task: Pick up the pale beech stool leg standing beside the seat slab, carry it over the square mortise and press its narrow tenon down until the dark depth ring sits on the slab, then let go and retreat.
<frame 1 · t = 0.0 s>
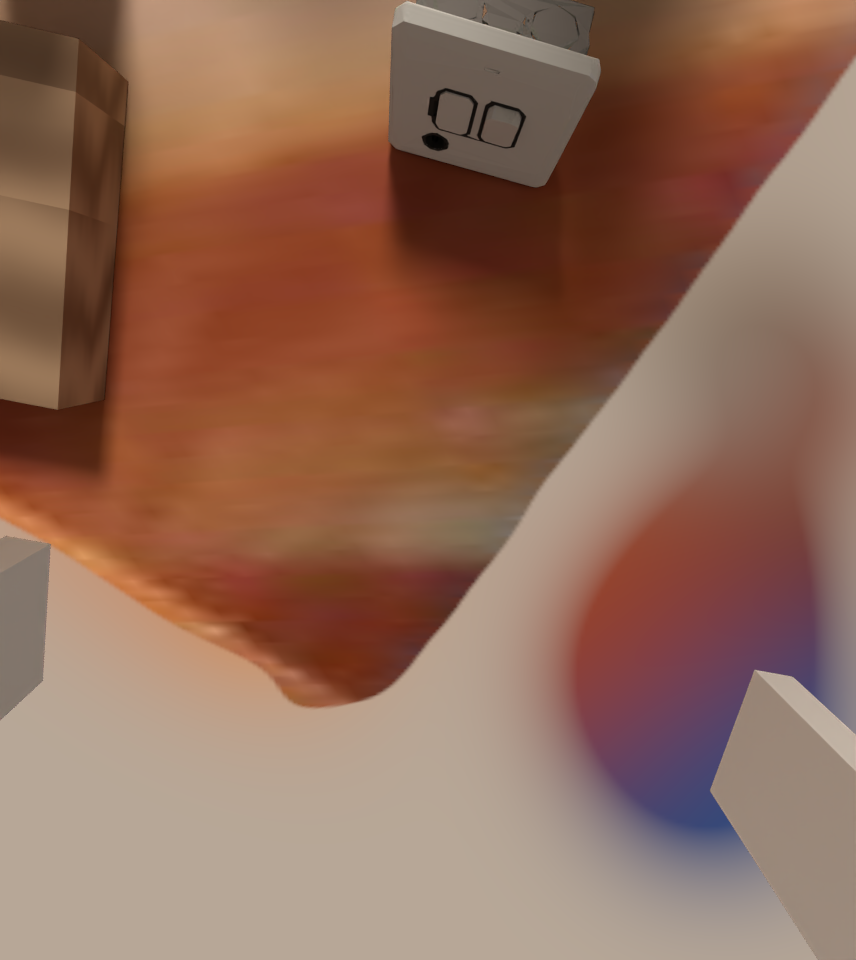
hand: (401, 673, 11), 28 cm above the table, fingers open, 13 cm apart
electrical switch: (473, 120, 34), on the table
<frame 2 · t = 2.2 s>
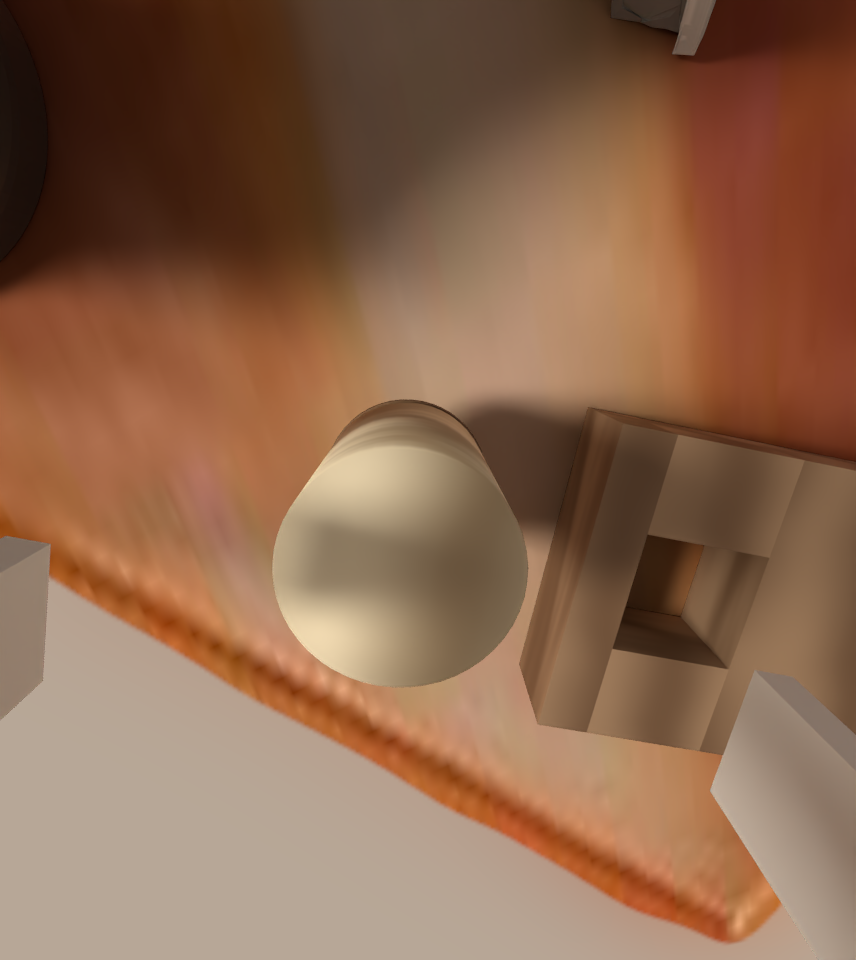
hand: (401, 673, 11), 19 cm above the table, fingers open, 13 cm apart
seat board: (720, 574, 31), on the table
leg peg: (407, 455, 29), on the table
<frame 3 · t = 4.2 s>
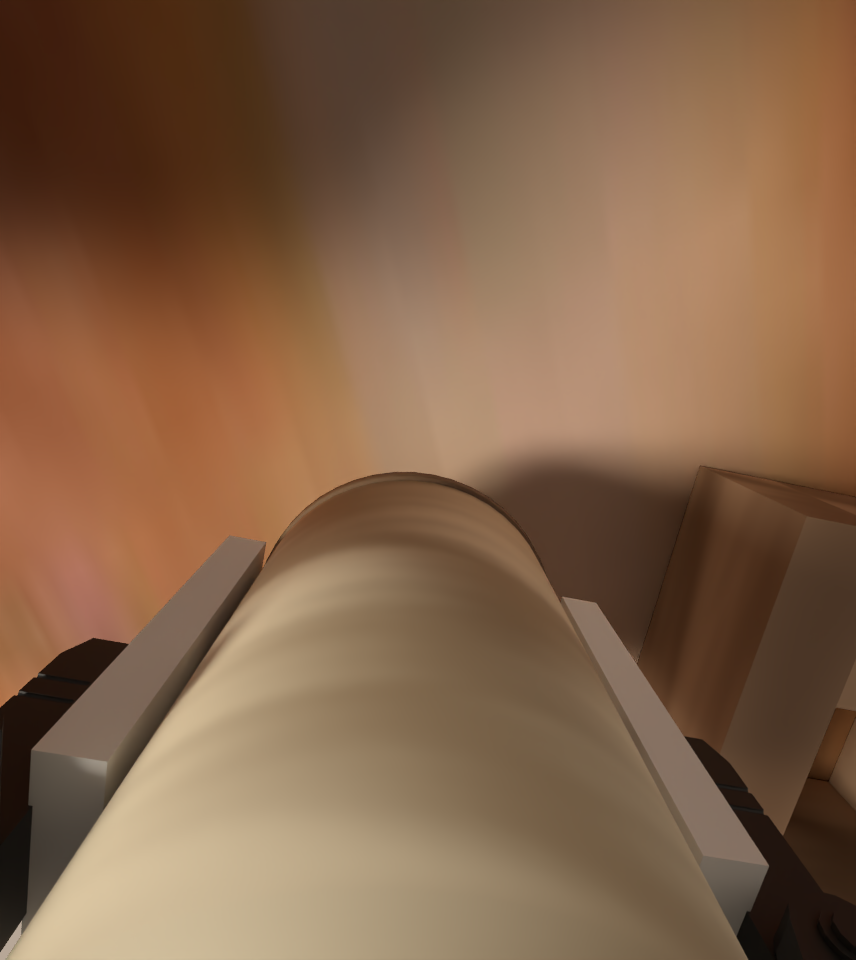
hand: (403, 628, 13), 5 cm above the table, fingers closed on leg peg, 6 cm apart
leg peg: (408, 541, 18), on the table, touching gripper
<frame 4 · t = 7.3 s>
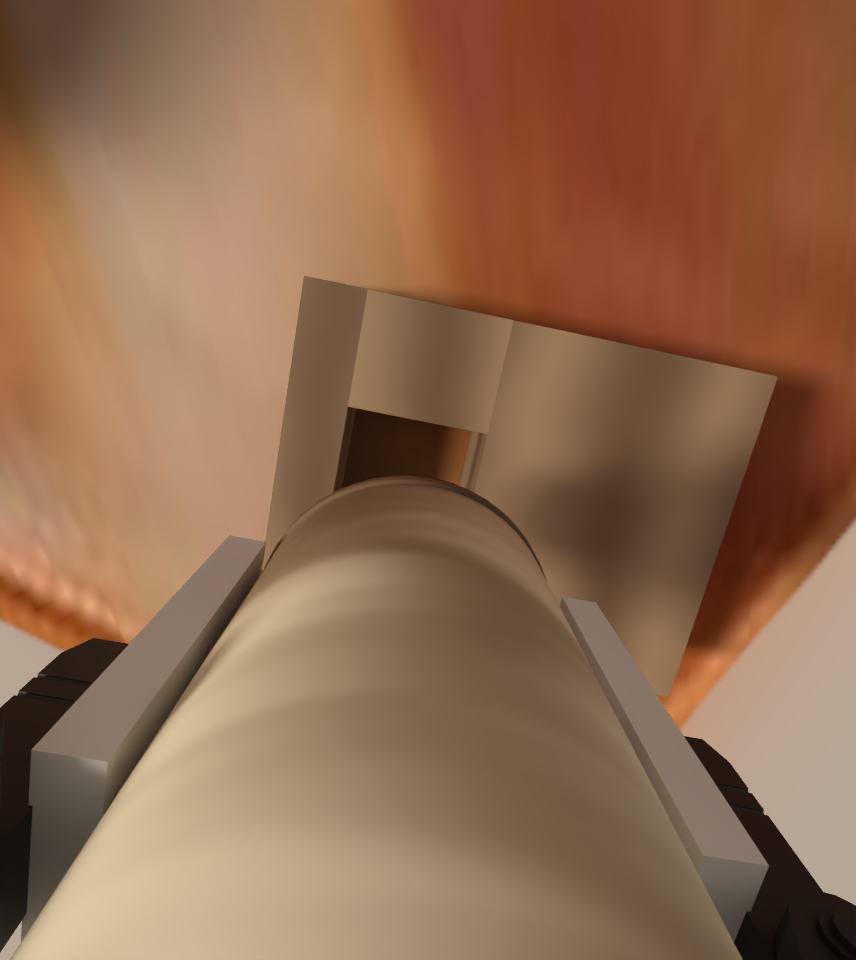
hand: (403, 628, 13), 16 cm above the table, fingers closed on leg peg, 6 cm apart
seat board: (488, 476, 29), on the table
leg peg: (407, 544, 18), point 11 cm above the table, touching gripper
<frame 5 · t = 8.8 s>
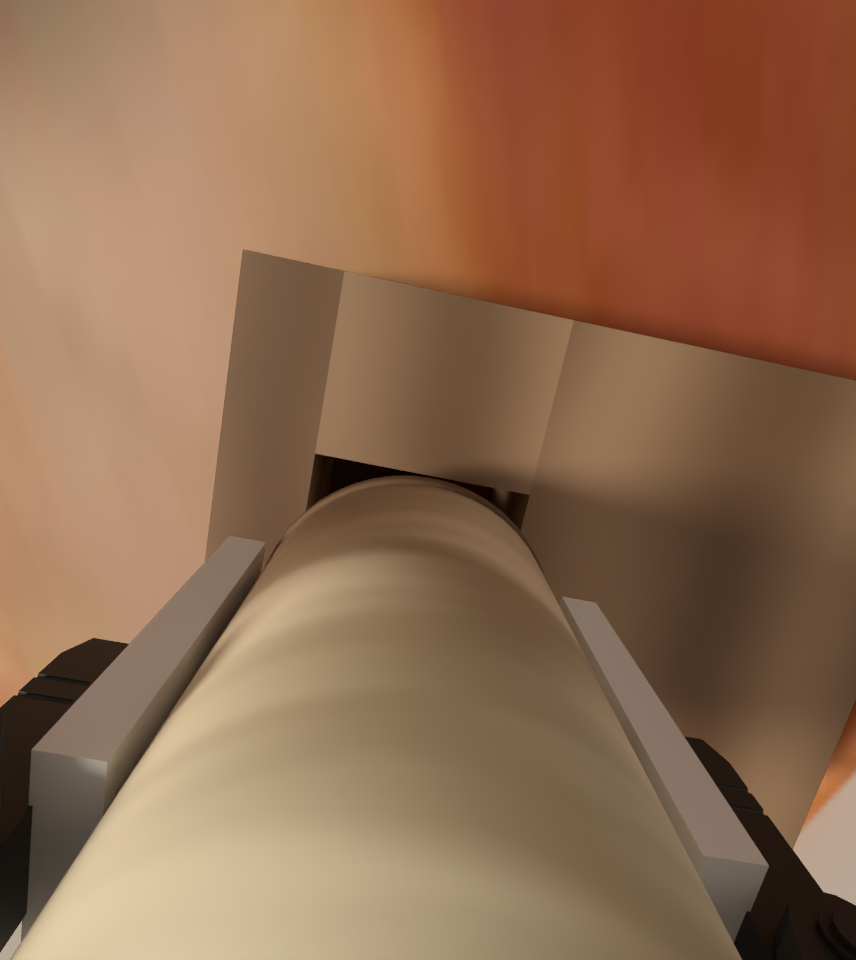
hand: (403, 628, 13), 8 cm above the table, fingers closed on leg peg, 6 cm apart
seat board: (520, 537, 21), on the table
leg peg: (407, 544, 18), point 2 cm above the table, touching gripper
when the fingers open (6 cm above the table, at t = 10.2 s): leg peg stays where it is, resting on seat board.
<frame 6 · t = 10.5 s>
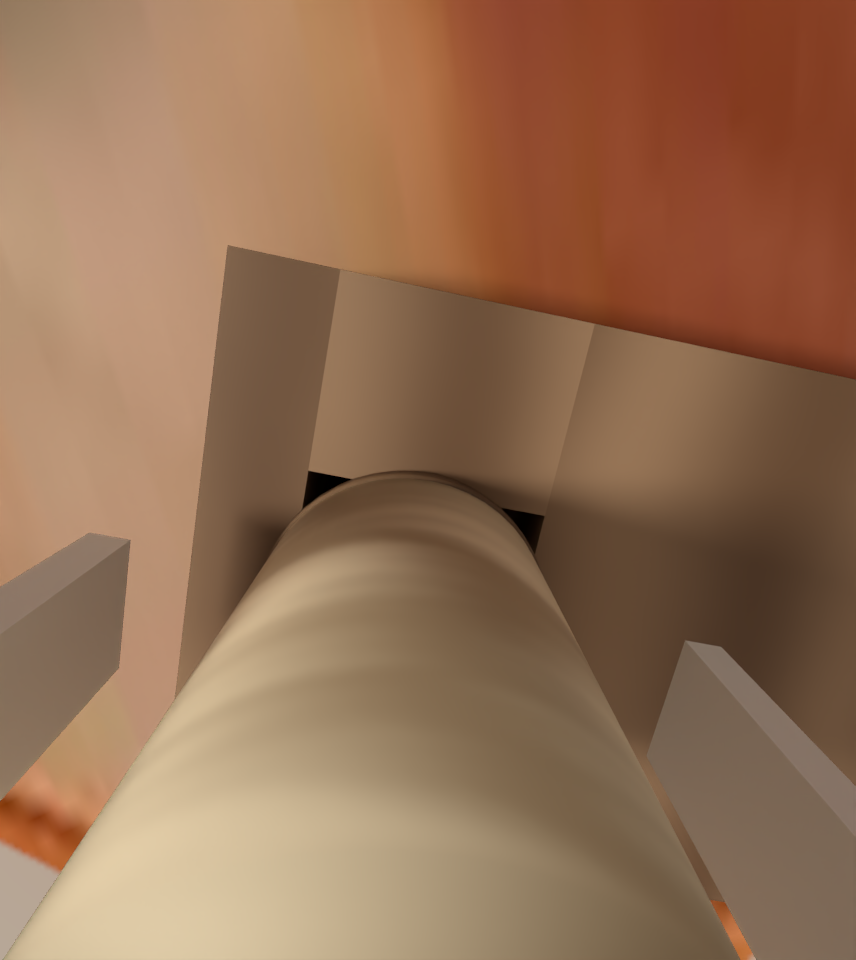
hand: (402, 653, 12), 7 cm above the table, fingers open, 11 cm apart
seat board: (531, 556, 19), on the table
leg peg: (406, 539, 18), resting on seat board
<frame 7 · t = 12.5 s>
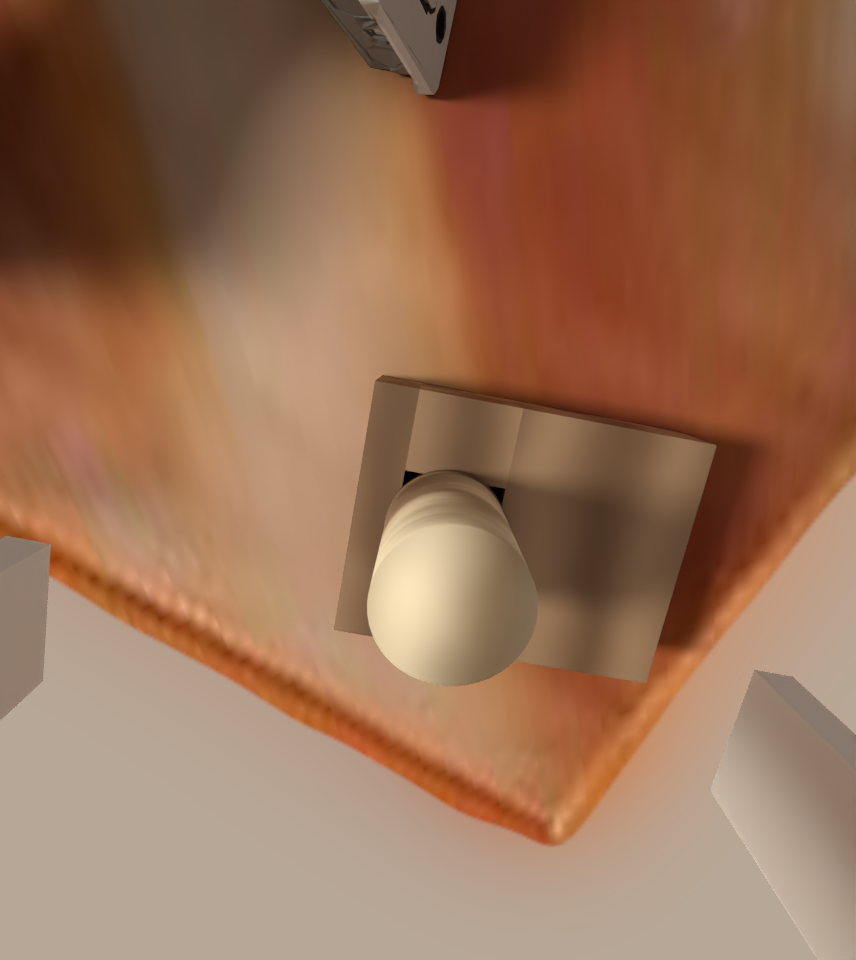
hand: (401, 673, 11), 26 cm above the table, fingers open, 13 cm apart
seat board: (506, 514, 37), on the table
leg peg: (442, 506, 37), resting on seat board
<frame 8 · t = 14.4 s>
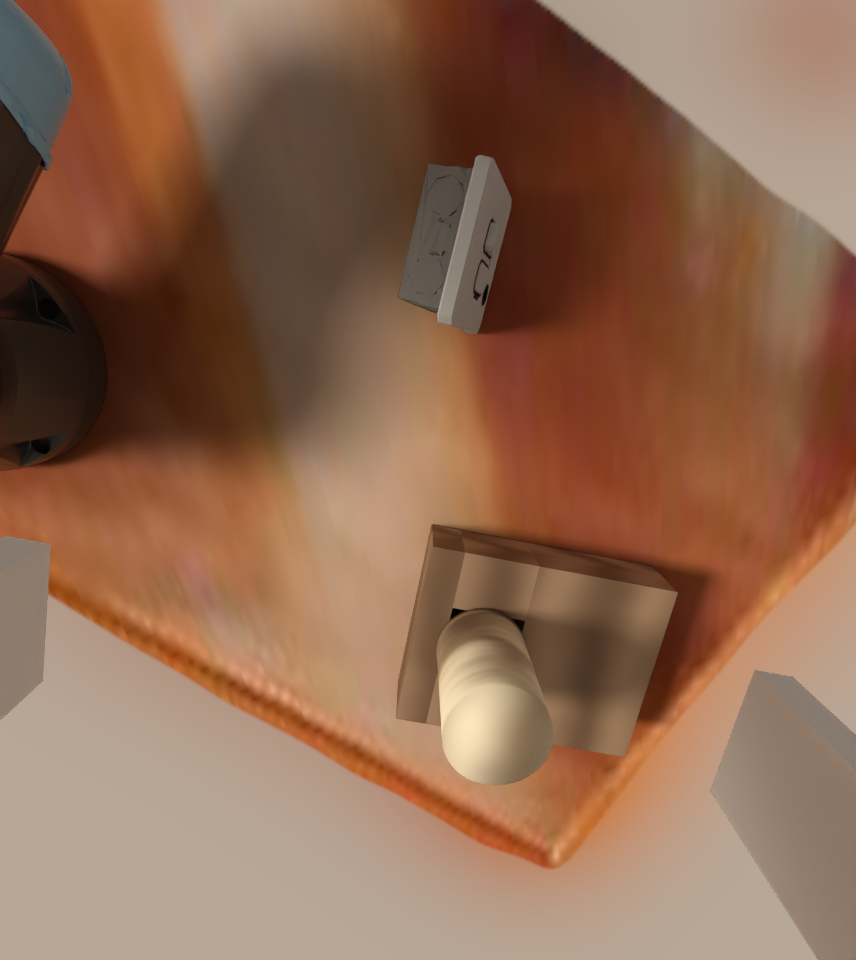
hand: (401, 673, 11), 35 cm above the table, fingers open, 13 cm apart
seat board: (522, 624, 49), on the table
leg peg: (474, 619, 48), resting on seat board
electrical switch: (456, 264, 43), on the table
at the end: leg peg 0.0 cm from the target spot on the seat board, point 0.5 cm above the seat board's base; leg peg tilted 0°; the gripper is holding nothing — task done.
